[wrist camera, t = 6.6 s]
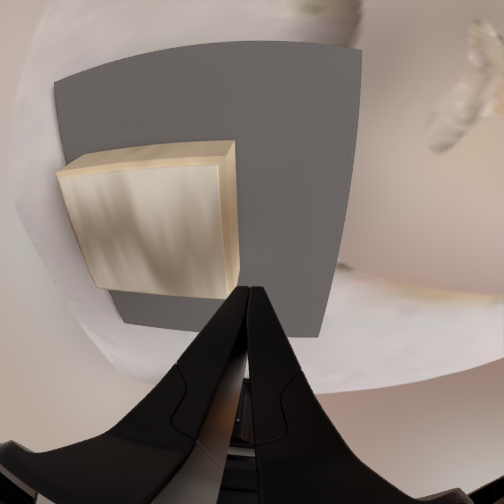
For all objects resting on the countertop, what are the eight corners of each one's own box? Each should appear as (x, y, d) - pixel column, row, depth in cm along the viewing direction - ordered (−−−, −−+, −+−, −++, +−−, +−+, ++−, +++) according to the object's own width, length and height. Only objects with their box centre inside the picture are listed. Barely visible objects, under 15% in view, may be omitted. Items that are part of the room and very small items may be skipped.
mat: (317, 331, 20) (318, 337, 19) (126, 317, 21) (124, 322, 20) (358, 51, 9) (362, 50, 8) (60, 81, 10) (53, 82, 9)
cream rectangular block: (234, 302, 13) (95, 290, 14) (240, 265, 16) (115, 259, 16) (224, 157, 9) (53, 174, 10) (235, 139, 11) (86, 153, 12)
